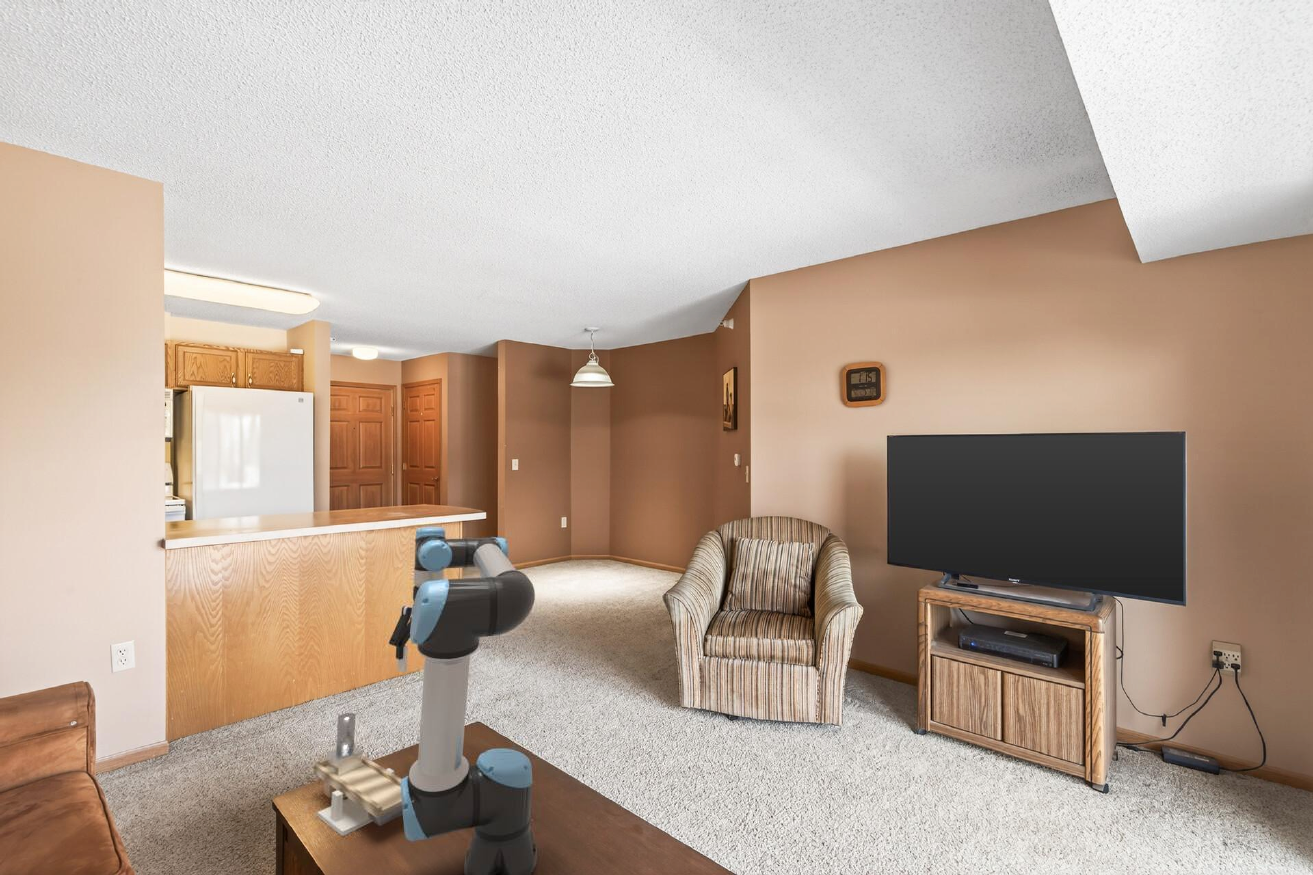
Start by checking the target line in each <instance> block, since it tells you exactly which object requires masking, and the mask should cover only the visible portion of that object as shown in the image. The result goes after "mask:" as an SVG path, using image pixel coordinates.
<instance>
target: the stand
mask: <svg viewBox="0 0 1313 875" xmlns="http://www.w3.org/2000/svg"><path fill="white" fill-rule="evenodd" d="M385 769H386V770H387V771H389V772H391V773H392V774H394V775H395V770H393V769H392V768H390V767H388V768H385ZM323 783H324V784H323V795H325V796H326V797H328V798H329V799H330V798H331V802H330V804H331V805H330V806H328V807H326V808H324V809H322V810H319V811H317V818H319V819H320V820H321V821H322V822H324V823H325V824H326V825H327V826H328V827H330V828H331V829H333V830H334V831H335V832H336V833H338V834H339V835H340V836H341V837H343V836H345V835H348V834H350V833H352V832H354V831H356V830H358V829H360V828H362V827H364V826H366V825H368V824H370V823H372V822H373V821H372V820H371V819H369V818H368V811H366V810H365V809H363V808H362V807H361V806H359V805H358V804H356V803H355V802H354V801H352V800H351V799H349V798H348V797H347V798H346V799H344V798H343V793H341V792H340V791H339V790H336V789H335V788H334V787H332V786H331V785H329V784H328V783H326V782H325V781H324V780H323Z"/></svg>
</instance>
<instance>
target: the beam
mask: <svg viewBox="0 0 1313 875" xmlns="http://www.w3.org/2000/svg"><path fill="white" fill-rule="evenodd" d="M326 768H327V757H326V758H325V759H321V760H319V761H318V763H316V764H314V766H313V774H314V775H315V776H317V777H318V778H320V780H322V781H323V782H324V781H325V782H326V783H328V784H329V785H331V786H332V787H334V788H335V789H336V790H339V791H340V792H341V793H343V799H344V798H346V797H347V799H348V798H349V799H351V800H352V801H354V802H355V803H356V804H358V805H359V806H361V807H362V808H363V809H365V810H366V811H368V818H369V819H371V820H372V822H373V823H375V824H376V825H377V826H380V827H381V826H383V825H384V824H387V823H389V822H391V821H393V820H394V819H396V818H398V817H401V816H403V809H402V798H401V780H402V779H403V778H401V777H399V776H397V775H396V774H395V773H394V774H392V773H391V772H389V771H387V770H386V769H387V768H384V767H383V766H381V765H379V764H378V763H376V762H374V761H372V760H371V759H369V758H367V757H366V756H364V755H363V754H362V767H360V768H358V769H355V770H353V771H351V772H348V773H346V774H343V775H341V776H337V775H335V774H334V773H332V772H331V771H329V770H328V769H326Z"/></svg>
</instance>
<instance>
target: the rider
mask: <svg viewBox="0 0 1313 875" xmlns="http://www.w3.org/2000/svg"><path fill="white" fill-rule="evenodd" d="M355 730H356V714H355V712H354V713H353V712H346V713H341V714H339V715H338V716H337V731H336V748H335V749H334V750H331V751H328V752H326V753H327V754H326V758H327V768H326V769H328V770H329V771H331V772H332V773H334V774H335V775H337V776H341V775H343V774H346V773H348V772H351V771H353V770H355V769H358V768H360V767H362V755H363V753H364V752H363V750H361V749H360V748H358V747H357V746H355V734H356V733H355V732H356V731H355Z"/></svg>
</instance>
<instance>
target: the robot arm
mask: <svg viewBox="0 0 1313 875" xmlns="http://www.w3.org/2000/svg"><path fill="white" fill-rule="evenodd" d="M414 542H415V543H414V544H415V545H414V546H415V547H414V569H413V570H414V572H413V584H414V586H413V589H412V600H413V605H412V606H407V605H404V606H402V608H401V613H400V616H399V619H398V621H397V622H396V626H395V628H394V630H393V632H392V635H391V637H390V639H389V641H388V645H391V646H393V647H395V658H396V660H397V671H398V672H401V673H406V672H407V666H408V664H407V662H408V645H406V644H407V643H408V641H409V640H410V642H411V643H412V644H414V645H416V646H417V651H418V653H419V655H421V656H422V657H423V658H424V663H423V664H424V666H423V667H424V668H423V678H422V679H423V681H422V695H421V697H422V698H421V712H420V726H419V738H418V739H419V740H418V755H417V759H416V761H414V762H413V763H412V765H411V767H410V769H409V771H408V773H409V774H408V775H406V776H405V777H403V778H401V779H402V780H401V798H402V809H403V815H402V818H403V820H402V821H403V829H404V836H405V838H406V839H407V840H408V841H411V842H416V841H422V840H430V839H432V838H435V837H439V836H444V835H447V834H452V833H455V832H460V831H463V830H464V831H465V830H468V829H472V828H474V832H473V835H472V837H471V842H470V845H469V848H468V850H467V851H466V854H465V858H464V868H463V869H464V870H463V871H464V872H463V873H464V875H530V874H531V873H532V872H534V871H535V869H536V867H537V863H538V862H537V859H538V858H537V857H538V851H537V846H536V843H535V842H536V841H535V838H534V836H533V832H532V828H531V808H532V807H531V806H532V784H533V770H532V768H533V767H532V763H531V760H530V759H529V757H528V756H527V755H526V754H524V753H523V752H521V751H518V750H515V749H511V748H504V747H503V748H491V749H488V750H485V752H481V753H480V755H478V758H477V761H476V763H473V764H470V765H469V760H468V759H467V758H466V757H465V756H464V755H463V751H464V739H465V728H466V727H465V726H466V725H465V724H466V711H467V701H468V700H467V699H468V688H469V676H470V674H469V673H470V665H471V664H470V662H471V661H470V659H471V656H472V655H473V654H474V653H476V651H477V650H478V648H479V646H480V638H485V637H486V638H488V637H495V636H501V635H504V634H507V633H509V632H511V631H513V630H515V629H516V628H518V627H519V626H520V625H522V623H524V621H525V620H526V619H527V618H528V616H529V615H530V613H531V611H532V610H533V607H534V604H535V598H536V594H535V587H534V585H533V582H532V580H530V578H529V577H528V575H526V573H524V572H522V571H520V570H518V569H516V568H515V566H514V565H513V564H512V563H511V561H510V560H509V558H508V557H509V546H508V541H507V539H505V538H504V537H494V536H491V537H475V538H474V537H473V538H446V530H445V528H444V527H441V526H422V527H418V528H417V529H416V532H415V539H414ZM459 568H460V569H461V568H475V569H477V572H478V574H479V576H480V577H467V578H465V577H464V578H450V579H449V578H444V570H445V569H459ZM535 866H536V867H535ZM534 868H535V869H534ZM533 870H534V871H533ZM532 874H533V873H532ZM532 874H531V875H532Z"/></svg>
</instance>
